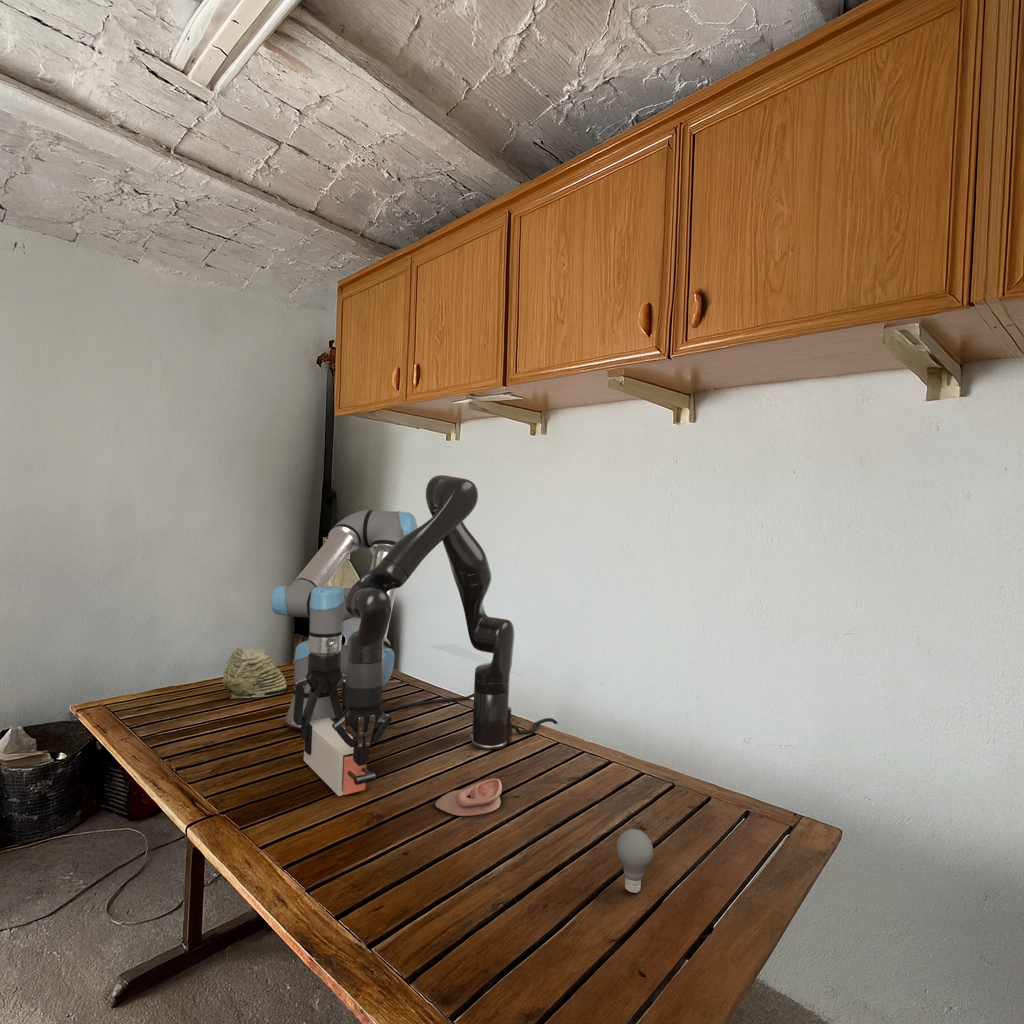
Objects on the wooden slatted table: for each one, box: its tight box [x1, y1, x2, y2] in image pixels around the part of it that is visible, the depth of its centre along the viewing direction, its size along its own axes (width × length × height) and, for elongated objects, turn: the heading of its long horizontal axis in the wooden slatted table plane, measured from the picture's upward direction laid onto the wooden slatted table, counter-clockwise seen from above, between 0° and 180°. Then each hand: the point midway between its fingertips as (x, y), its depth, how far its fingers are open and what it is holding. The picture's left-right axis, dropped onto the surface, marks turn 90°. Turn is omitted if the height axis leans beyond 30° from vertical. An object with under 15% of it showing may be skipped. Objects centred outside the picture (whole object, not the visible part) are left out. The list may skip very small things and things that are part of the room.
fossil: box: [222, 646, 288, 699], centre depth 198 cm, size 9×18×15 cm, turn 132°
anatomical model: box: [434, 778, 503, 817], centre depth 133 cm, size 13×4×12 cm
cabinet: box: [303, 718, 354, 797], centre depth 145 cm, size 22×6×9 cm, turn 37°
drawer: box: [342, 754, 377, 796], centre depth 141 cm, size 26×5×8 cm, turn 38°
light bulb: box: [615, 828, 654, 894], centre depth 106 cm, size 6×6×10 cm
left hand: (321, 749), depth 150 cm, fingers closed on cabinet, 6 cm apart
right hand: (360, 764), depth 132 cm, fingers closed
